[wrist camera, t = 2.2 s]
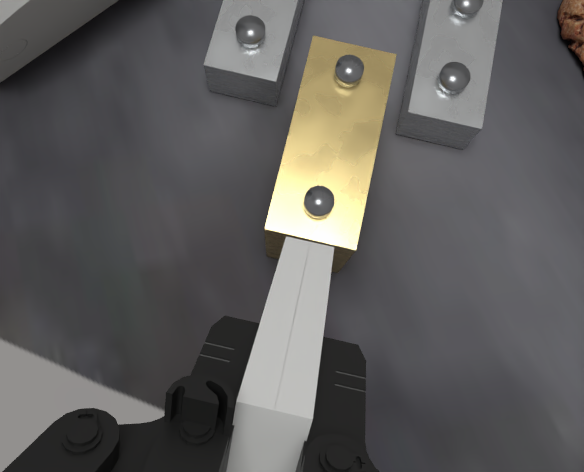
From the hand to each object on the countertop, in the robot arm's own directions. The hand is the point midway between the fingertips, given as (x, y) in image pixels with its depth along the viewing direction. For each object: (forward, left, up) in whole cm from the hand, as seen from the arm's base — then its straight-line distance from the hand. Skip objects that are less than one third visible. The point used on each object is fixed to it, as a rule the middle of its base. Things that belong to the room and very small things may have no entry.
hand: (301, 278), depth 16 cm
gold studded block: (-10, 0, -19) cm, 21 cm away
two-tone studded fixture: (-21, 0, -18) cm, 28 cm away
